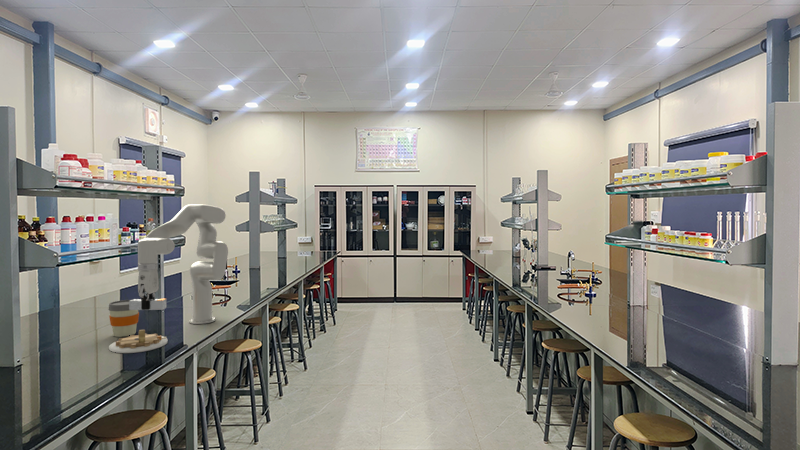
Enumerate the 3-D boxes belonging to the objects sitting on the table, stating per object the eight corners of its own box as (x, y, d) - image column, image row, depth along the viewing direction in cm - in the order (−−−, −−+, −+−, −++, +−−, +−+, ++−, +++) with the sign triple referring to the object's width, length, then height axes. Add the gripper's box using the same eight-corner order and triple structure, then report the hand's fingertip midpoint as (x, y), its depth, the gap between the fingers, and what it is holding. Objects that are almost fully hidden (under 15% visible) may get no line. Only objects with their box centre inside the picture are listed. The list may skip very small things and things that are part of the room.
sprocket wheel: (112, 341, 197) (112, 326, 196) (156, 334, 208) (156, 320, 207) (119, 351, 183) (119, 335, 183) (165, 343, 195) (165, 328, 194)
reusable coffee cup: (123, 329, 220) (123, 299, 219) (146, 331, 217) (145, 300, 217) (102, 336, 207) (101, 304, 207) (125, 338, 205) (125, 305, 204)
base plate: (125, 338, 206) (125, 334, 206) (175, 337, 207) (175, 334, 207) (97, 353, 184) (97, 350, 184) (153, 352, 186) (153, 349, 186)
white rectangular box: (133, 308, 201) (133, 298, 201) (166, 307, 202) (166, 298, 202) (129, 310, 197) (129, 300, 197) (162, 309, 198) (162, 300, 198)
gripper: (147, 269, 191) (148, 312, 192) (164, 264, 208) (165, 304, 208) (129, 269, 190) (129, 312, 191) (147, 264, 207) (148, 304, 208)
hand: (148, 307), depth 200 cm, fingers closed on white rectangular box, 4 cm apart
